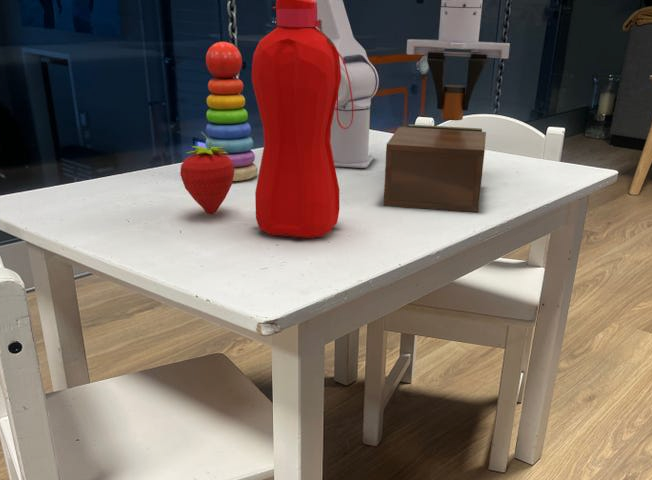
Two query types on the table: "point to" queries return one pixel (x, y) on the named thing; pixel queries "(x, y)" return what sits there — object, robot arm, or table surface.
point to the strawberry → (208, 176)
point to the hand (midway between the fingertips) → (452, 108)
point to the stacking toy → (229, 110)
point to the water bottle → (297, 124)
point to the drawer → (445, 128)
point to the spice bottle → (453, 102)
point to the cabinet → (434, 169)
